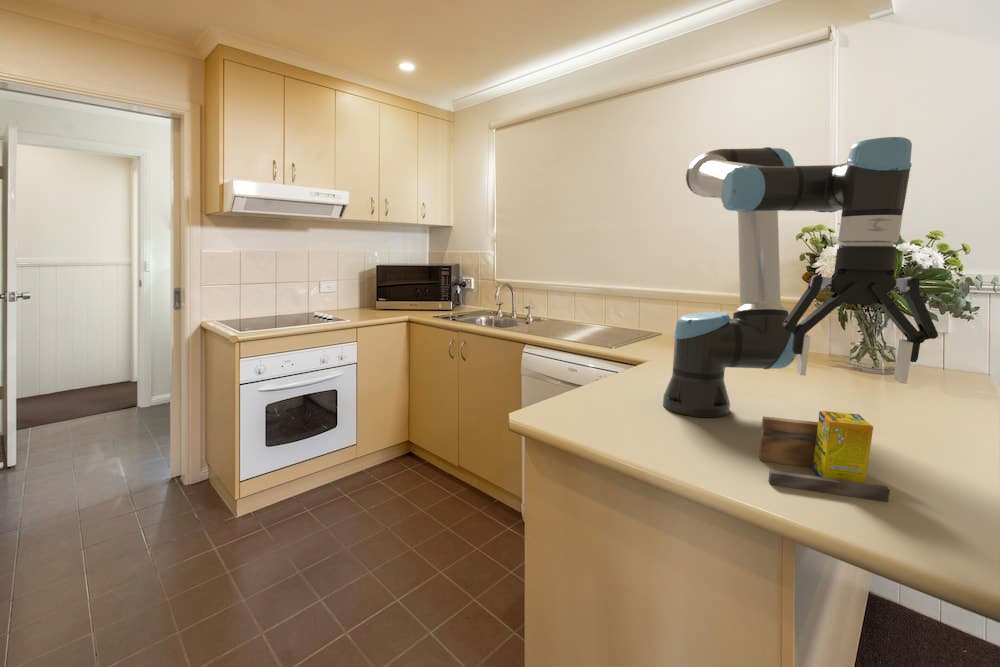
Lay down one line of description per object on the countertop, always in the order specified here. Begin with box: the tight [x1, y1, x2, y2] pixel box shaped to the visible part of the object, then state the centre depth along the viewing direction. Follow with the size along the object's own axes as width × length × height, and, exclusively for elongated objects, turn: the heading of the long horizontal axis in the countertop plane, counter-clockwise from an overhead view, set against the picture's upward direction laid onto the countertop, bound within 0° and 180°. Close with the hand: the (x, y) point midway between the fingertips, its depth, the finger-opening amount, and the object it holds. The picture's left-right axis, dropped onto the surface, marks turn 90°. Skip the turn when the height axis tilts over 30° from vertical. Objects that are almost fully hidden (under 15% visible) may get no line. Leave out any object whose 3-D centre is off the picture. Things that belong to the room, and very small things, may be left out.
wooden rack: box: [758, 416, 891, 503], centre depth 80 cm, size 16×11×8 cm
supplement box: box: [812, 410, 874, 483], centre depth 79 cm, size 6×6×11 cm
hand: (848, 377), depth 78 cm, fingers open, 13 cm apart
